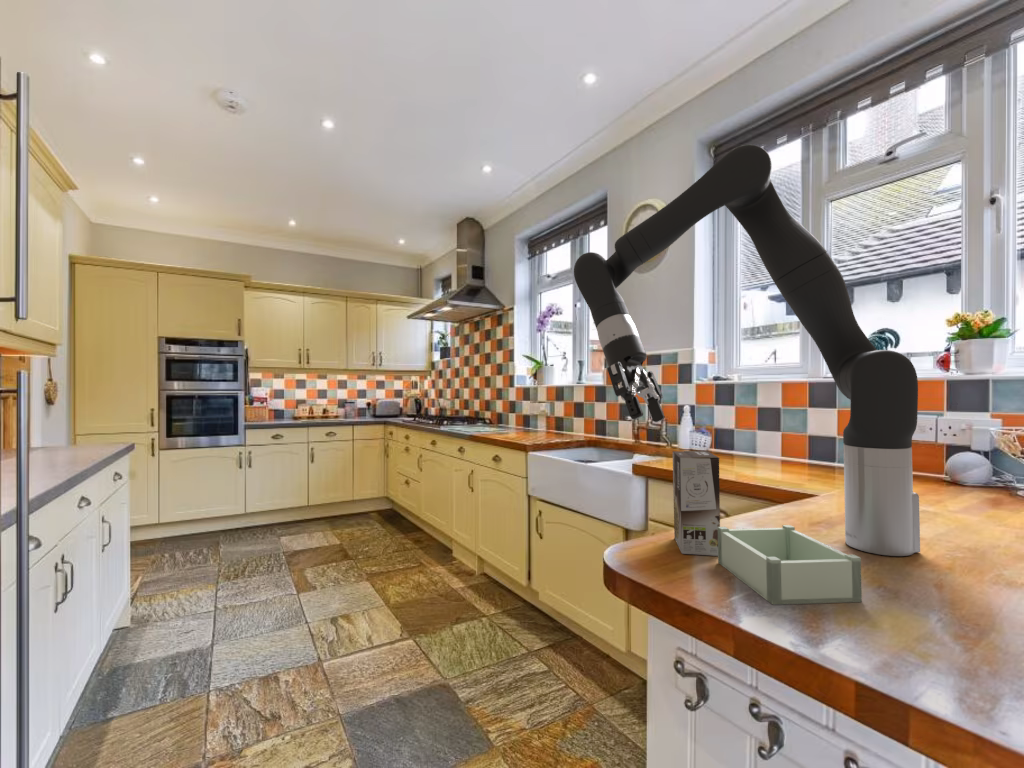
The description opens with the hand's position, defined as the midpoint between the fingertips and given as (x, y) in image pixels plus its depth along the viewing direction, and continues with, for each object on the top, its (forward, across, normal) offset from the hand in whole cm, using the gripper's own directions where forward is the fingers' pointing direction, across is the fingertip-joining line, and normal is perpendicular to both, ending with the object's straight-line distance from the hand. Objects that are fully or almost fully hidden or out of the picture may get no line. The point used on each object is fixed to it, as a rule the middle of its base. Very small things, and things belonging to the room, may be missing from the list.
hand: (649, 419), depth 88 cm
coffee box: (+23, +3, +2) cm, 23 cm away
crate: (+30, -3, -12) cm, 32 cm away
